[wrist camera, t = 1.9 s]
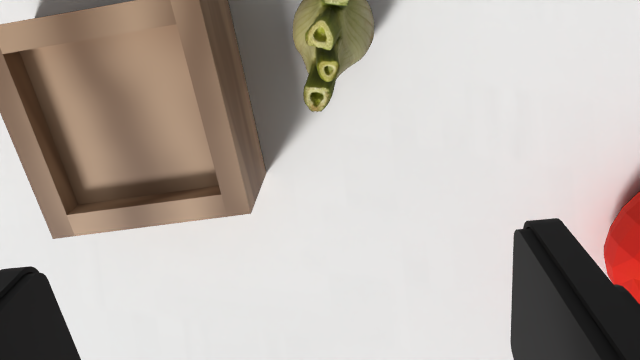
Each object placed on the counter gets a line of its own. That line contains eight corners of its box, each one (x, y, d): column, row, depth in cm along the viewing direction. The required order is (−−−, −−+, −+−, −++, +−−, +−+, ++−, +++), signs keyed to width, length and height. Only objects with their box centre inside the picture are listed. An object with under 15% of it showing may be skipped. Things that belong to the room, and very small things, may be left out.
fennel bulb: (332, -40, 31) (324, -42, 20) (393, 11, 32) (417, 35, 21) (277, 37, 33) (244, 74, 22) (337, 83, 34) (332, 139, 23)
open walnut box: (224, -16, 32) (196, -11, 26) (266, 173, 37) (250, 213, 31) (33, 18, 33) (-34, 30, 28) (98, 196, 38) (53, 238, 32)
